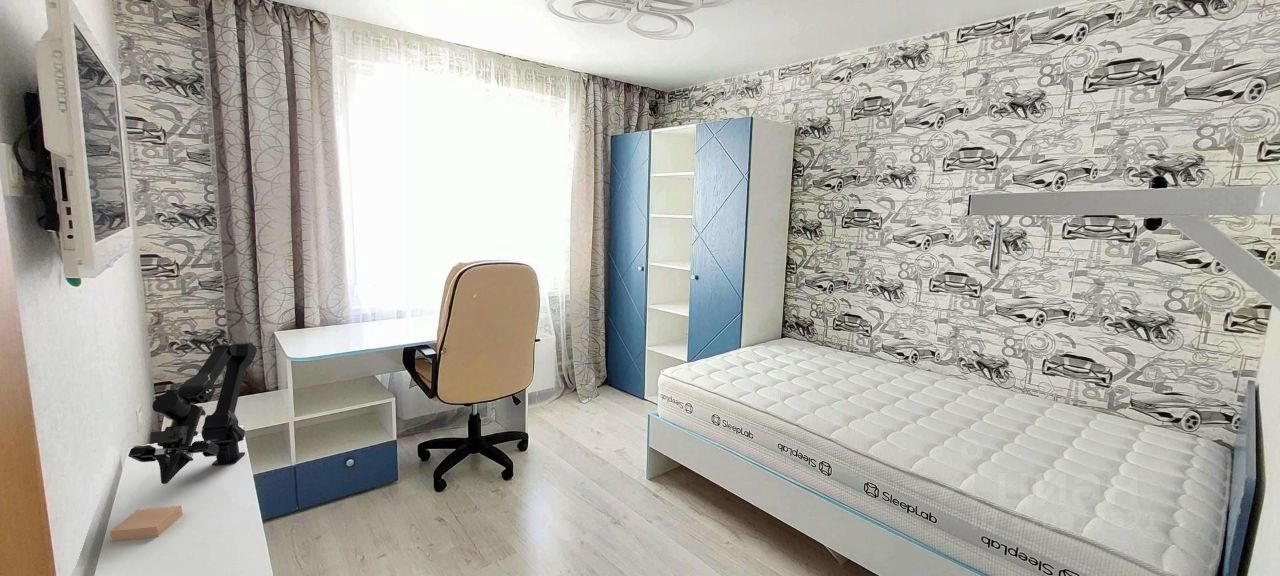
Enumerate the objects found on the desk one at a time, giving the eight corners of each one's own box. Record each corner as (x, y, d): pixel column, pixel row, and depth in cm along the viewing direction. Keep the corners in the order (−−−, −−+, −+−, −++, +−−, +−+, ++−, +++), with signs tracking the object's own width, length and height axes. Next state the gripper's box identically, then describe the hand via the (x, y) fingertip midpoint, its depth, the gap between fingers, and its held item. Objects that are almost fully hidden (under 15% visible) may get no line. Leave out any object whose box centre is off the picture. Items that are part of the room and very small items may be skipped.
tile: (137, 509, 137) (109, 531, 129) (181, 505, 139) (156, 526, 130) (139, 520, 138) (112, 542, 129) (183, 515, 140) (159, 537, 131)
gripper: (125, 418, 141) (101, 479, 132) (205, 412, 144) (186, 471, 135) (152, 432, 150) (131, 490, 141) (227, 426, 153) (210, 483, 144)
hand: (164, 483), depth 140 cm, fingers closed
